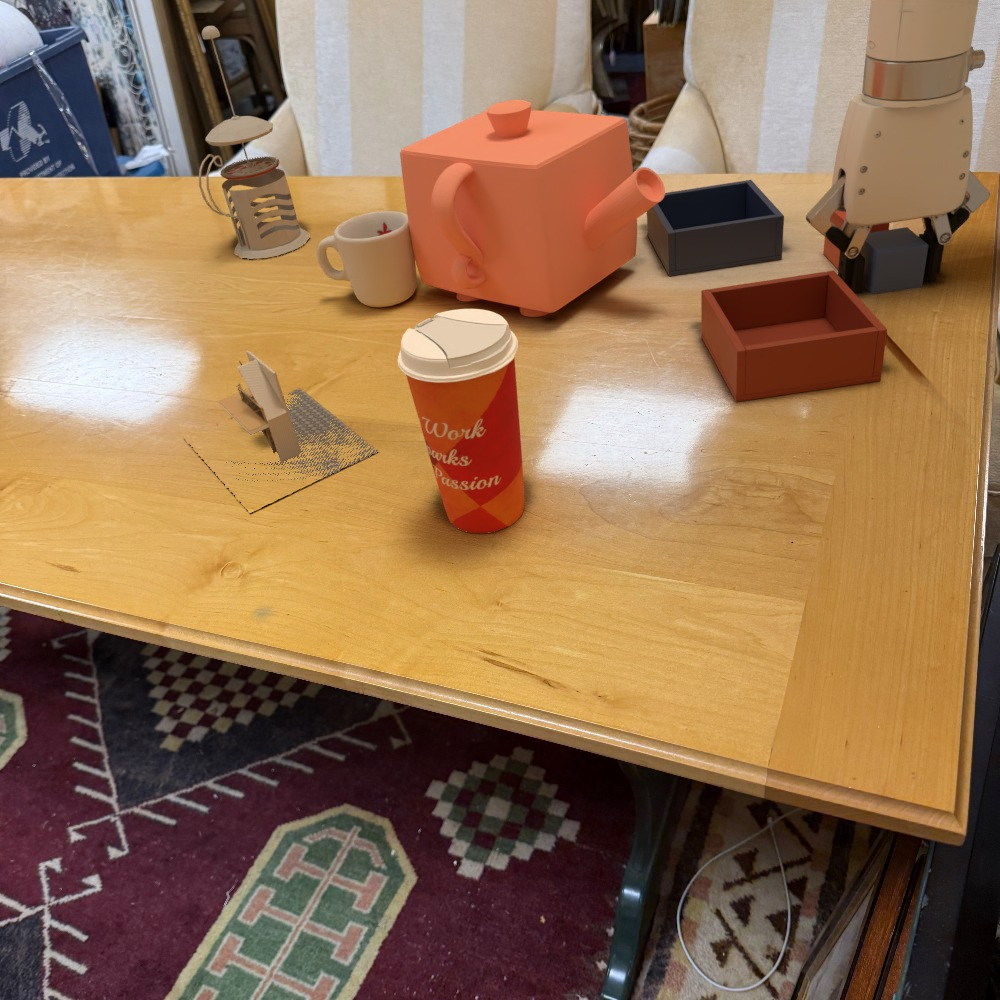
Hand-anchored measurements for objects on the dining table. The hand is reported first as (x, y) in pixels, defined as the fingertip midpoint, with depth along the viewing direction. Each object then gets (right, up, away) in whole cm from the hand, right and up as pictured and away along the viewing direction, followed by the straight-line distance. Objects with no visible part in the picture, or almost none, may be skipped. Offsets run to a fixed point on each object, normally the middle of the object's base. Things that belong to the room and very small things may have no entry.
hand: (886, 286), depth 82 cm
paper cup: (-36, -20, -18) cm, 45 cm away
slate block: (0, 0, 0) cm, 1 cm away
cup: (-48, +2, +15) cm, 51 cm away
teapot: (-29, +2, +10) cm, 31 cm away
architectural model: (-54, -15, -7) cm, 56 cm away
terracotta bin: (-11, -7, -7) cm, 15 cm away
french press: (-64, +12, +32) cm, 73 cm away
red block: (0, +4, +7) cm, 8 cm away
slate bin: (-13, +7, +14) cm, 20 cm away
